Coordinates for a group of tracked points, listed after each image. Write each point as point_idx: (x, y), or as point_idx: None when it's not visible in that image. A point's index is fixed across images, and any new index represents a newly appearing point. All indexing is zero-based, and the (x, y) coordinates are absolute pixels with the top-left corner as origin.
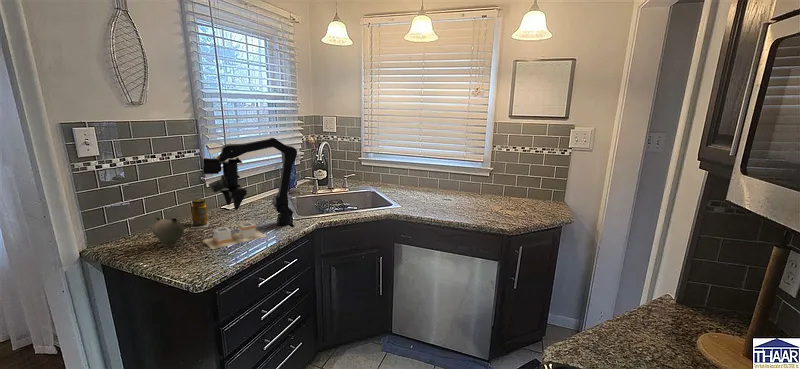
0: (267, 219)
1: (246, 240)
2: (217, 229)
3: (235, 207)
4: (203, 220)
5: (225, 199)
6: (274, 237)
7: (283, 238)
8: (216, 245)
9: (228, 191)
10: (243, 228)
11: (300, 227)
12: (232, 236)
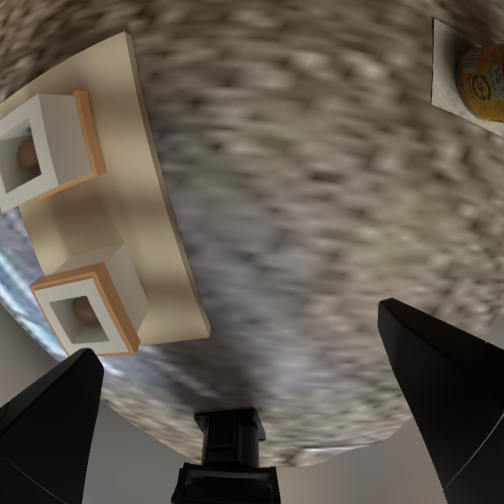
0: (367, 389)
1: (45, 262)
2: (30, 122)
3: (56, 370)
4: (478, 89)
5: (447, 341)
6: None
7: None
8: None
9: (495, 501)
10: (33, 286)
11: (194, 447)
12: (115, 202)
